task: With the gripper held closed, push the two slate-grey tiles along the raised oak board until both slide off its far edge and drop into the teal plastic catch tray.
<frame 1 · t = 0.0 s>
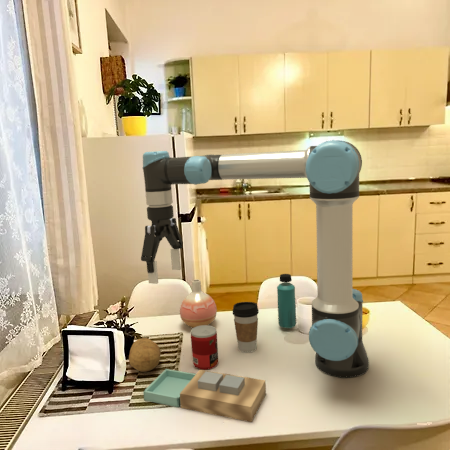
hand: (165, 276, 124), 28 cm above the table, fingers open, 13 cm apart
beverage bottle: (287, 329, 148), on the table
canned food: (205, 364, 127), on the table
oak board: (224, 400, 108), on the table
tile 1: (210, 384, 108), point 4 cm above the table, touching oak board
vase: (199, 326, 155), on the table
tile 2: (232, 388, 106), point 4 cm above the table, touching oak board
coffee cup: (247, 348, 135), on the table
potato: (145, 367, 127), on the table
catch tray: (172, 391, 113), on the table
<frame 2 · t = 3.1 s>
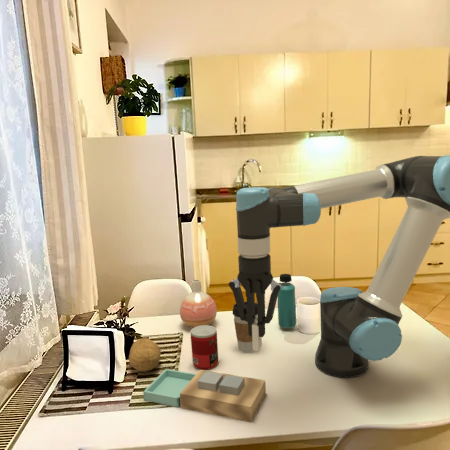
hand: (257, 348, 101), 16 cm above the table, fingers closed
nothing on the table moved.
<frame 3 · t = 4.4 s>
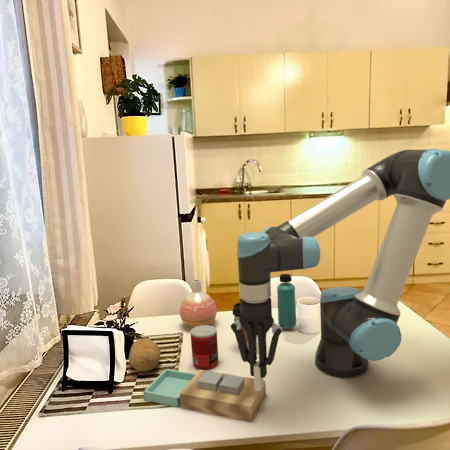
hand: (259, 387, 103), 5 cm above the table, fingers closed
nothing on the table moved.
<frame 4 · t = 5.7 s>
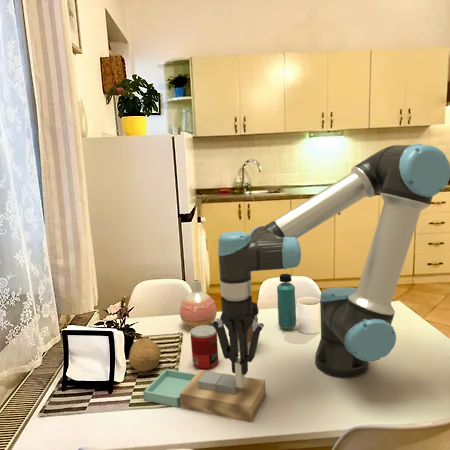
hand: (240, 384, 105), 6 cm above the table, fingers closed
tile 2: (229, 387, 106), point 4 cm above the table, touching gripper
everything else where it was.
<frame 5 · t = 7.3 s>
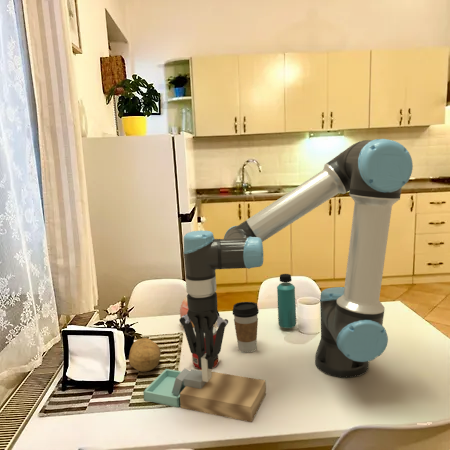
hand: (207, 378, 108), 6 cm above the table, fingers closed
tile 1: (184, 383, 111), point 3 cm above the table, tilted 70°, touching catch tray
tile 2: (196, 382, 110), point 4 cm above the table, touching gripper
everything else where it was.
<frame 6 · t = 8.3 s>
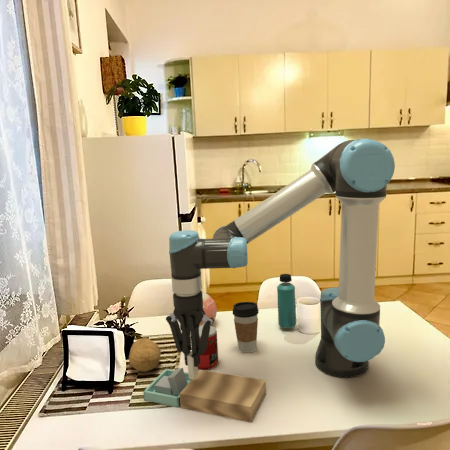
hand: (193, 376, 110), 5 cm above the table, fingers closed
tile 1: (167, 381, 113), point 3 cm above the table, tilted 180°, touching catch tray
tile 2: (181, 381, 112), point 4 cm above the table, tilted 105°, touching catch tray
everything else where it was.
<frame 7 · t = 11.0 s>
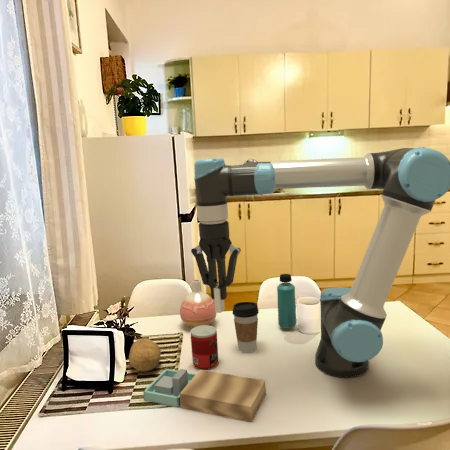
hand: (220, 310, 107), 23 cm above the table, fingers closed
tile 2: (183, 383, 111), point 3 cm above the table, tilted 90°, touching catch tray
everything else where it was.
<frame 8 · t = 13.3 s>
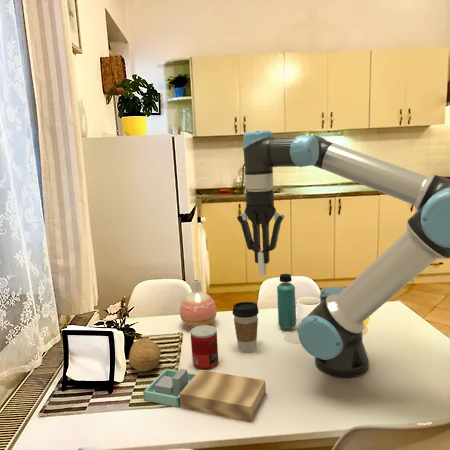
hand: (262, 274, 115), 29 cm above the table, fingers closed
nothing on the table moved.
at the end: tile 2 inside the target area on the catch tray (4.0 cm from its centre), point 3.1 cm above the catch tray's base; tile 1 inside the target area on the catch tray (1.1 cm from its centre), point 2.6 cm above the catch tray's base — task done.
